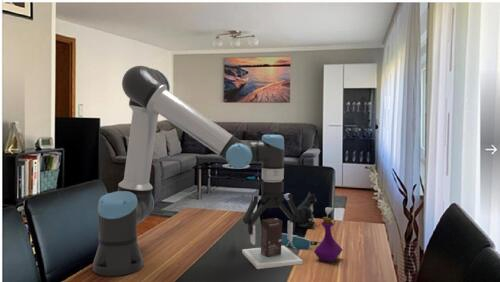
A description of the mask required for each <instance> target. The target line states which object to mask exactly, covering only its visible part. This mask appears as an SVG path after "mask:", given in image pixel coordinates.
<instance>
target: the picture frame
mask: <svg viewBox="0 0 500 282" xmlns="http://www.w3.org/2000/svg"><path fill="white" fill-rule="evenodd" d="M241 252H242V254H243V256H244V257H245V258H246V259H247V260H248V261H249V262H250V263H251V264H252V266H254V267H255V269H256V270H260V269H270V268H279V267H286V266H288V267H289V266H294V265H295V266H296V265H303V263H304V262H303V261H304V260H303V259H301V258H300V257H299V256H298V255H297V254H296V253H294V252H293V251H292V250H290V248H288V247H287V246H284V245H281V254H280V255H274V256H270V257H266V256H264V255H262V254H261V247H255V248H253V247H252V248H244V249H243V248H242V250H241Z"/></svg>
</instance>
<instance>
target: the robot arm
mask: <svg viewBox="0 0 500 282" xmlns="http://www.w3.org/2000/svg"><path fill="white" fill-rule="evenodd" d="M121 86H122V90H123V93H124V94H125V95H126V97H127V98H128V99H129V101H128V107H129V108H130V109H131V111H132V113H131V116H132V117H131V123H130V130H129V135H128V136H129V138H128V145H127V152H126V158H125V159H126V160H125V167H124V177H123V179H122V181H120V182H119V183H118V187H117V191H112V192H108V193H106V194H104V195H101V197H100V198H99V200H98V204H97V205H98V206H97V215H98V220H97V221H98V222H97V223H98V246H97V250H96V253H95V256H94V259H93V264H92V271H93V272H94V273H95V274H97V275H100V276H105V277H117V276H124V275H125V276H126V275H130V274H133V273H136V272H138V271H139V270H141V269H142V268H143V266H144V264H143V263H144V257H143V254H142V253H141V252H142V251H141V249H140V247H139V243H138V226H139V224H140V223H142V222H143V221H144V220H146V219H147V218H149V216H150V215H151V213H152V211H153V209H154V206H155V200H154V196H153V188H154V186H152V184H151V183H150V179H151V178H150V177H151V172H152V171H151V170H152V163H153V156H154V148H155V141H156V134H157V127H158V118H159V115H160V116H161V117H163V118H164V119H166V120H167V121H169V122H170V123H171V124H173V125H175V127H178V128H179V130H180V129H181V130H182V131H183V132H185V133H187V134H188V136H190V137H192V138H193V139H195V140H196V141H198V142H199V143H201V145H204V147H206V148H208V149H209V150H211V151H213V152H214V153H215V154H217V155H218V156H219V157H221V158H222V159H223V160H225V161H226V162H227V164H228V165H229V166H230V167H232V168H233V169H237V170H241V169H244V168H246V167H248V165H250V164H251V163H257V164H259V163H261V180H262V181H261V185H260V187H261V188H260V189H261V190H260V191H261V192H260V193H261V194H260V195H256V194H252V196H251V202H250V203H249V206H248V208H247V210H246V212H245V215H244V216H243V218H242V222H243V223H244V224H245V225H247V233H248V234H249V235H250V242H249V243H251V244H252V246H253V245H254V246H255V245H256V225H255V223H256V221H257V220H258V219H259V218H260V216H261V215H262V214H263V212H265V210H266V209H273V208H275V209H276V208H280V210H281V211H282V212H283V213H284V215H285V216H286V217H287V218H288V219H289V220H287V229H286V230H287V232H286V234H287V239H288V240H289V241H292V239H293V235H294V234H293V233H294V232H295V230H296V223H297V220H300V215H299V213H298V211H297V206H296V205H295V202H294V200H293V194H292V193H289V192H286V193H285V194H284V190H285V189H284V186H285V185H284V181H283V180H284V179H285V178H284V175H285V173H284V172H285V167H284V166H285V138H284V135H281V134H263V135H262V136H261V140H241V139H239V138H237V137H235V136H234V135H233V134H231V133H230V132H228V131H227V130H226V129H224V128H222V126H220V125H219V124H217V123H216V122H214V121H213V120H211V119H210V118H209V117H207V116H205V114H202V113H201V112H199V110H196V108H194V107H192V106H191V105H189V104H188V103H187V102H185V101H184V100H183V99H181V98H179V97H178V96H176V95H175V94H174V93H172V92H171V90H170V89H171V86H170V82H169V80H168V78H167V76H165V74H164V73H163V72H161V71H160V70H158V69H154V68H150V67H148V66H144V65H136V66H132V67H130V68H129V69H128V70H127V71H125V73H124V74H123V76H122V81H121ZM284 199H285V200H286V201H287V204H288V206H289V208H290V210H291V212H292V213H291V212H290V211H289V209H288V208H287V207H286V206H285V204H284V203H283V201H284ZM259 201H261V203H259ZM258 203H259V206H258V207H257V205H258ZM256 207H257V208H256ZM255 209H256V210H255Z"/></svg>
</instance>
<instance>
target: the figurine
mask: <svg viewBox="0 0 500 282" xmlns="http://www.w3.org/2000/svg"><path fill="white" fill-rule="evenodd" d="M315 194H316V193H313V194H312V193H311V191H308V193H307V196H306V198H305V199H304V200H303V201H302V202H301V203H300V204H298V206H296V209H297V211H298V213H299V215H300V220H297V221H296V223H297V224H298V225H297V226H298V227H299V228H301V229H309V230H310V229H314V228H315V224H316V222H315V221H314V217H315V215H314V214H313V212H314V204H315V203H316V202H317V199H316V198H317V197H316V196H315Z"/></svg>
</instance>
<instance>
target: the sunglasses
mask: <svg viewBox="0 0 500 282" xmlns="http://www.w3.org/2000/svg"><path fill="white" fill-rule="evenodd" d="M322 241H323V240H320V241H313V240H311V239H309V238H305V237H301V236H300V235H297V234H296V235H295V234H293V239H292V241H289V240H288V239H287V233H283V232H282V242H281V245H282V246H285V247H287V248H288V247H289V246H290V245H292V246H291V247H292V248H293V249H295V250H304V249H305V250H308V249H309V250H310V249H311V247H312V246H317V245H318V244H319V245H320V244H321V242H322Z"/></svg>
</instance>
